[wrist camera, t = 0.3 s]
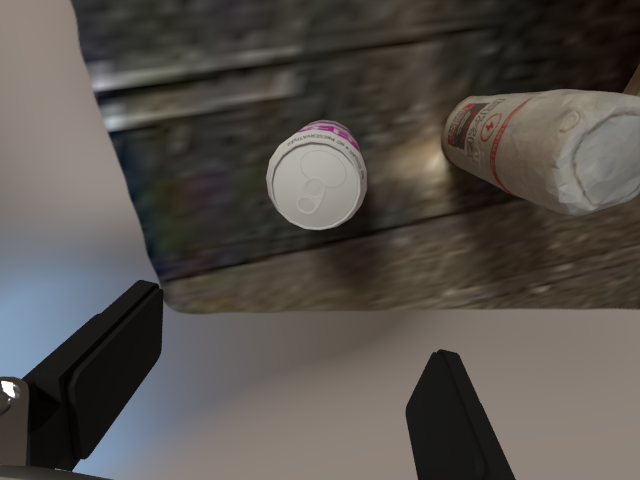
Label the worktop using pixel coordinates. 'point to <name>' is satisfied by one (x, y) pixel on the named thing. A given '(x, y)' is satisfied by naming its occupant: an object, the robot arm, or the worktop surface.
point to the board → (634, 84)
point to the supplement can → (318, 176)
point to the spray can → (551, 146)
